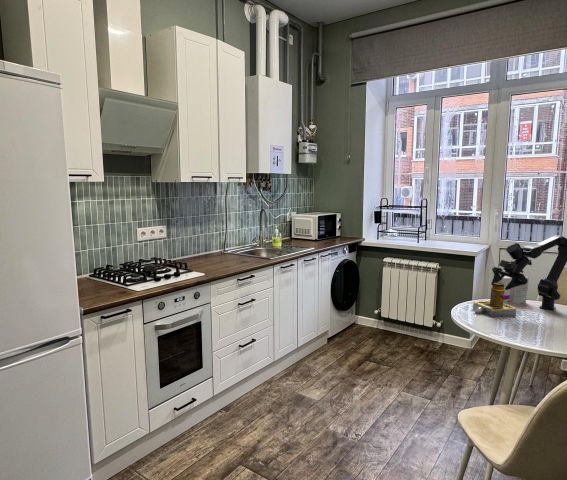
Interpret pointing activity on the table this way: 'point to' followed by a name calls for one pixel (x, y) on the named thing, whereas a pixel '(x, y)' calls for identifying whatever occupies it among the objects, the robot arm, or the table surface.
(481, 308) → the gold square tray
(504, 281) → the supplement can
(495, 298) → the condiment
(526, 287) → the supplement box
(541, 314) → the table surface
